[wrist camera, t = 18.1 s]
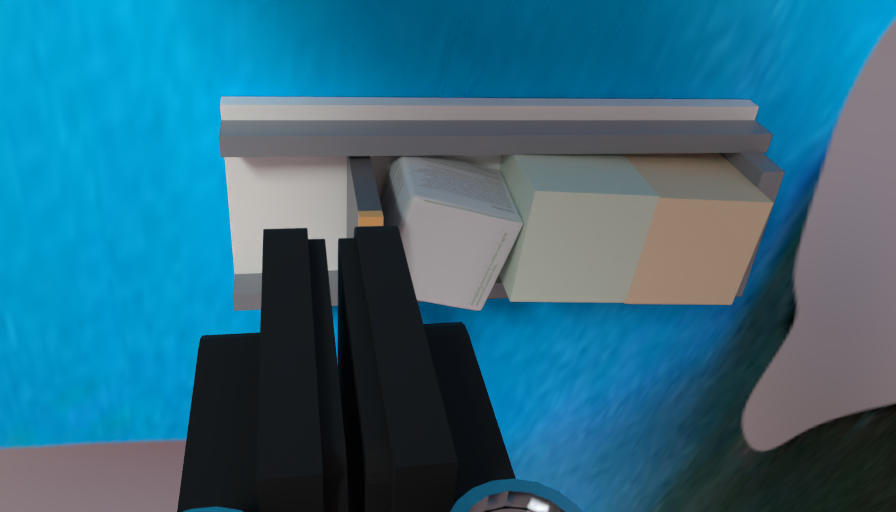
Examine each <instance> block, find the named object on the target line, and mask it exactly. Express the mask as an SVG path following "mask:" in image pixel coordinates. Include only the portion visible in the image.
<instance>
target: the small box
mask: <svg viewBox="0 0 896 512" xmlns="http://www.w3.org/2000/svg"><path fill="white" fill-rule="evenodd" d="M380 203H381V207H382V212H383V216H384V219H383V226H398V228H399V231H400V235H401V239H402V243H403V247H404V251H405V255H406V259H407V263H408V267H409V271H410V275H411V279H412V283H413V287H414V290H415V294H416V298H417V300H419V301H424V302H430V303H436V304H441V305H446V306H452V307H457V308H464V309H470V310H477V311H480V310H482V308H483V306H484V304H485V302H486V300H487V298H488V296H489V294H490V292H491V290H492V288H493V286H494V284H495V282H496V279H497V277H498V275H499V273H500V271H501V269H502V267H503V265H504V263H505V261H506V259H507V257H508V255H509V253H510V251H511V249H512V247H513V244H514V242H515V240H516V238H517V236H518V234H519V232H520V230H521V228H522V226H523V224H524V223H523V221H522V219H521V216H520V214H519V212H518V209H517V207H516V205H515V203H514V200H513V198H512V196H511V194H510V191H509V189H508V187H507V184H506V182H505V180H504V178H503V175H502V173H501V172H500V171H498V170H494V169H491V168H487V167H483V166H479V165H475V164H471V163H468V162H464V161H460V160H457V159H453V158H449V157H446V156H442V155H422V156H395V158H394V161H393V163H392V166H391V169H390V171H389V174H388V177H387V180H386V182H385V185H384V188H383V190H382V193H381V196H380Z"/></svg>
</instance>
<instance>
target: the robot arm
mask: <svg viewBox="0 0 896 512" xmlns="http://www.w3.org/2000/svg"><path fill="white" fill-rule="evenodd" d="M177 512H582V510H581V509H580V508H579V507H578V505H577V504H575V503H574V502H572V501H571V500H570V499H568V498H567V497H566V496H564V495H563V494H562V493H560V492H559V491H557V490H554V489H552V488H550V487H547V486H545V485H542V484H540V483H538V482H532V481H526V480H520V479H516V478H515V475H514V472H513V469H512V466H511V463H510V460H509V457H508V454H507V451H506V448H505V445H504V442H503V439H502V435H501V432H500V429H499V426H498V423H497V420H496V417H495V414H494V411H493V408H492V405H491V402H490V399H489V396H488V393H487V389H486V386H485V383H484V380H483V377H482V374H481V371H480V368H479V365H478V362H477V359H476V356H475V353H474V350H473V347H472V344H471V340H470V337H469V334H468V332H467V329H466V327H465V325H464V324H463V323H462V322H454V323H435V324H423V322H422V318H421V314H420V310H419V306H418V302H417V298H416V294H415V290H414V287H413V283H412V279H411V275H410V271H409V267H408V263H407V259H406V255H405V251H404V247H403V243H402V239H401V235H400V231H399V228H398V226H360V227H355V228H354V238H339V239H338V366H337V356H336V346H335V335H334V325H333V315H332V305H331V295H330V284H329V274H328V264H327V254H326V244H325V239H308V231H307V228H285V229H264V230H263V257H262V292H261V328H260V333H243V334H224V335H205V336H202V337H201V339H200V343H199V348H198V356H197V364H196V371H195V379H194V387H193V395H192V402H191V410H190V418H189V425H188V433H187V441H186V449H185V456H184V464H183V471H182V479H181V487H180V495H179V502H178V510H177Z"/></svg>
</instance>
